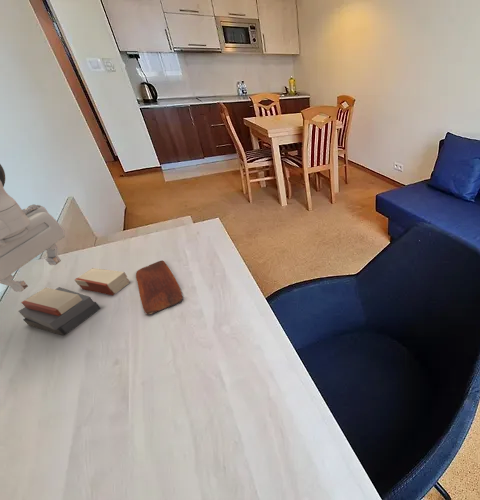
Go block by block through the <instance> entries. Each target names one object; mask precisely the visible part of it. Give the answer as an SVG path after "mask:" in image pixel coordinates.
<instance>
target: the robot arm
mask: <svg viewBox="0 0 480 500" xmlns="http://www.w3.org/2000/svg"><path fill="white" fill-rule="evenodd" d="M5 183H6V173H5V169H4V167H3V165H2V164H1V163H0V284H1V285H4V286H8V287H10V288H11V289H12V290H13V291H14V292H17V293H18V292H19V293H21V292H23V291H24V290H26V289H27V288H28V287H29V286H28V284H26V281H24V280H13V279H14V278H15V277H14V276H13V274H14V273H15V272H17V271H18V270H20V269H21V268H22V267H24V266H25V265H26V264H28V263H30V262H31V261H32V260H34V259H35V258H36V257H38V256H40V255H41V254H42V253H44V252H45V251H46V255H47V257H46V258H45V261H46V262H47V264H48V265H50V266H56V265H58V264H59V263H60V262H62V261H61V260H62V259H61V258H60V257H59V253H58V252H59V251H58V250H59V249H58V246H57V243H58V242H60V241H61V240H62V239H64V238H65V236H66V231H65V230H64V228H63V227H62V226H61V224H60V223H59V222H58V221H57V220H56V219H55V218H54V216H52V215H51V214H50V213H49V211H48V210H47V208H45V206H43V205H40V204H30V205H29V206H27V207H25V208H23V209H22V208H21V206H20V205H19V204H18V202H17V201H16V199H14V198H13V196H10V195H9V194H8V193H7V191H6V190H5V188H4V187H5Z"/></svg>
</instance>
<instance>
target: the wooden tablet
mask: <svg viewBox="0 0 480 500" xmlns="http://www.w3.org/2000/svg"><path fill="white" fill-rule="evenodd" d="M135 280H136V283H137V287H138V293H139V298H140V302H141V306H142V309H143V311H144V313H145V314H146V315H148V316H149V315H153V314H155V313H158V312H160V311H162V310H164V309H167V308H170V307H172V306H174V305H175V306H176V304H179V303H180V302H181V301H183V299H184V298H183V293H182V289H181V287H180V285H179V283H178V281H177V279H176V277H175V275H174V274H173V272H172V271H171V269H170V267H169V265H167V263H166V262H165V261H164V260H158V261H156V262H153V263H151V264H149V265H147V266H144V267H142V268H140V269H138V270H137V271H136V272H135Z"/></svg>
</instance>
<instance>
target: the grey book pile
mask: <svg viewBox="0 0 480 500" xmlns="http://www.w3.org/2000/svg"><path fill="white" fill-rule="evenodd" d="M54 289H55V290H60V291H64V292H69V293H73V294H78V295H79V296H80V297H81V299H82V301H80V302H79V303H78V304H76V305H75V306H73V307H72V308H70V309H69V310H67V311H66V312H65V313H63V314H62V315H60V316H56V315H52V314H48V313H44V312H40V311H36V310H32V309H29V308H26V307H25V306H23V308H21V309H19V310H18V311H17V312H18V313H19V314H20V315H21V316H22V317H23V319H22V320H23V322H25V324H27V326H29V327H31V328H35V329H39V330H41V331H44V332H49V333H51V334H52V333H53V334H57V335H60V336H63V337H65V336H66V335H67V334H69V333H70V332H72V331H73V330H75V328H77V327H78V326H80V325H81V324H82V323H83V322H85V321H86V320H88V318H90V317H91V316H93V315H94V314H95V313H96V312H98V311H99V310H101V307H100V305H99V304H98V303H97V301H94V299H92V297H91V296H89V295H87V294H86V295H85V294H82V293H79V292H77V291H73V290H70V289H67V288H64V287H60V286H58V287H57V288H54Z"/></svg>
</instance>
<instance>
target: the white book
mask: <svg viewBox="0 0 480 500" xmlns="http://www.w3.org/2000/svg"><path fill="white" fill-rule="evenodd" d="M55 289H56V288H50V287H44V288H43V289H41V290H39V291H37V292H35V293H34V294H32V295H31V296H29V297H27V298H26V299H24V300H22V301H21V302H20V304H22V306H23V307H26V308H29V309H32V310H36V311H40V312H44V313H48V314H52V315H56V316H60V315H62V314H63V313H65V312H66V311H67V310H69V309H70V308H72V307H73V306H75V305H76V304H78V303H79V302H80V301H82V299H81V297H80V296H79V295H78V294H73V293H69V292H64V291H60V290H55Z"/></svg>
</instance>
